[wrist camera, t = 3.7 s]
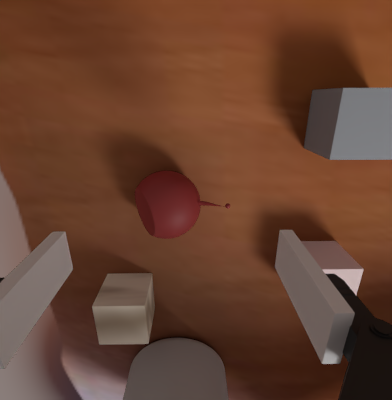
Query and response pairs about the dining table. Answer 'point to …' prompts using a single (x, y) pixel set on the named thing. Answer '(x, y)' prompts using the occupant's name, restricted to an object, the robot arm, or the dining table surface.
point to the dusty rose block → (335, 261)
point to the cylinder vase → (176, 372)
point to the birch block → (124, 309)
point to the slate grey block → (350, 124)
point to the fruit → (168, 204)
